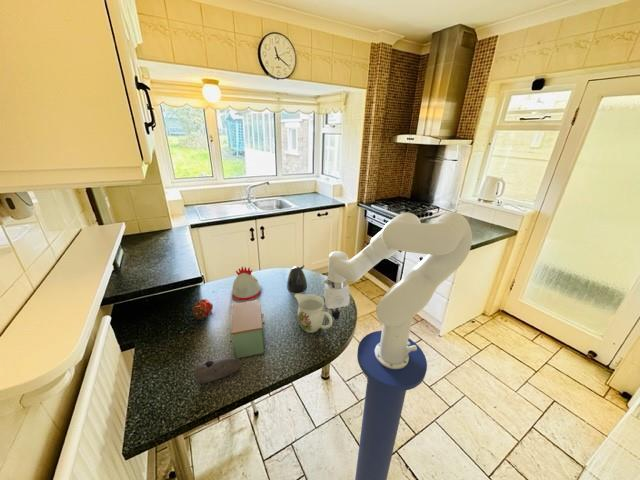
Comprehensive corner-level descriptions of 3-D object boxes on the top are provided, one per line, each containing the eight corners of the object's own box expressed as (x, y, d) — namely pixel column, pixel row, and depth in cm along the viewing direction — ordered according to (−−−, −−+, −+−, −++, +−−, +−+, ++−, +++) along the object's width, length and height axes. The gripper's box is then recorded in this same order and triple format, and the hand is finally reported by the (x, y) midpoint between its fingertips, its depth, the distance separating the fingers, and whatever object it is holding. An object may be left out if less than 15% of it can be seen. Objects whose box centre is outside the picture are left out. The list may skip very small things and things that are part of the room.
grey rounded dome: (257, 300, 125) (254, 274, 119) (229, 300, 125) (224, 274, 119) (263, 284, 137) (260, 260, 131) (237, 284, 138) (233, 259, 131)
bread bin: (264, 322, 111) (262, 299, 106) (267, 352, 97) (264, 327, 91) (236, 327, 108) (232, 303, 103) (235, 359, 94) (230, 333, 89)
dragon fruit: (201, 328, 110) (203, 314, 121) (217, 314, 111) (217, 301, 121) (185, 317, 106) (189, 303, 117) (201, 303, 107) (203, 290, 118)
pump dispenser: (311, 292, 132) (311, 266, 125) (297, 301, 124) (296, 275, 118) (297, 284, 138) (296, 259, 131) (283, 293, 130) (281, 267, 124)
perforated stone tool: (242, 363, 92) (240, 349, 89) (243, 375, 88) (241, 361, 85) (197, 375, 88) (193, 361, 85) (196, 389, 83) (192, 374, 80)
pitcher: (324, 345, 100) (325, 317, 94) (288, 327, 109) (286, 301, 103) (337, 328, 109) (339, 301, 103) (303, 312, 117) (302, 287, 111)
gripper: (321, 289, 97) (320, 326, 105) (358, 284, 100) (355, 320, 108) (316, 278, 104) (316, 314, 111) (351, 274, 107) (348, 308, 115)
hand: (335, 317), depth 110 cm, fingers closed
